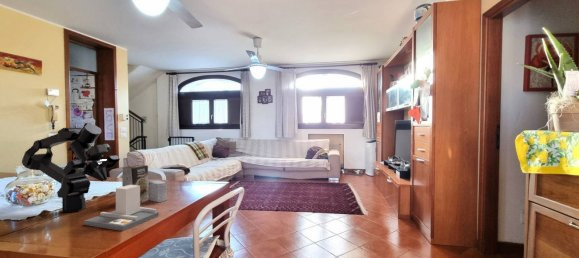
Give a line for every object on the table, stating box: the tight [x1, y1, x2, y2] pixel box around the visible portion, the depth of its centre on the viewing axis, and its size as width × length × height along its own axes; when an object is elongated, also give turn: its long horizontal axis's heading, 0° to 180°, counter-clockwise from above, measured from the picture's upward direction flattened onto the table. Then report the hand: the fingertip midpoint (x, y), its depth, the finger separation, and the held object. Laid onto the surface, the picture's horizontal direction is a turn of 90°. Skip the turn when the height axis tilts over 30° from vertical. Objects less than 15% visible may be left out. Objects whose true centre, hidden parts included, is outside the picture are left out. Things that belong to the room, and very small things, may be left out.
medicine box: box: [148, 180, 167, 203], centre depth 120 cm, size 8×4×9 cm, turn 58°
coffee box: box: [121, 164, 149, 202], centre depth 120 cm, size 9×6×16 cm
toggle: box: [115, 185, 141, 215], centre depth 97 cm, size 6×6×10 cm
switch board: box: [84, 206, 160, 232], centre depth 95 cm, size 18×15×3 cm
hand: (104, 180), depth 101 cm, fingers closed
